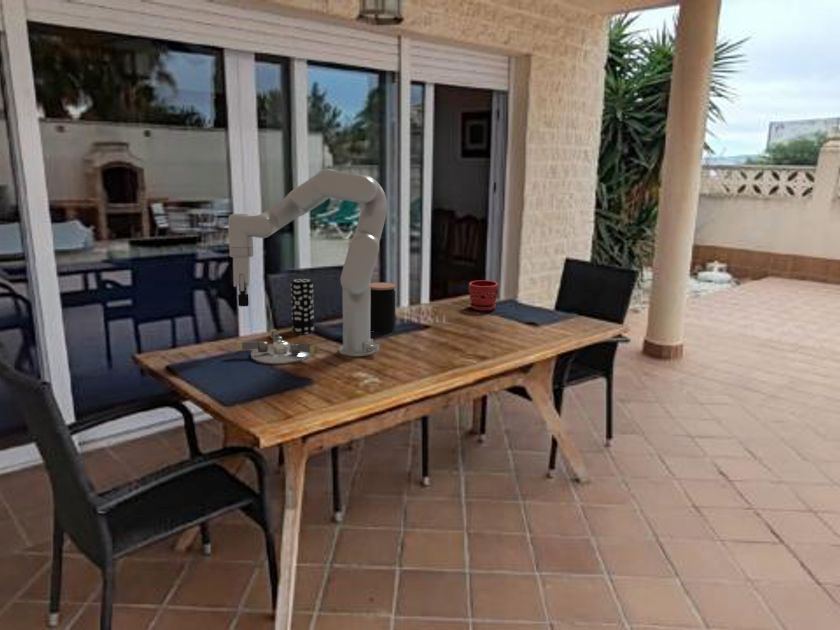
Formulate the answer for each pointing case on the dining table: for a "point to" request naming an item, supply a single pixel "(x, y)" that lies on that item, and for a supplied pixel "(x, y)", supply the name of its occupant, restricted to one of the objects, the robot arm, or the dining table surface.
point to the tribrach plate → (279, 354)
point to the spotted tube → (302, 306)
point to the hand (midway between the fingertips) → (243, 305)
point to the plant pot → (483, 294)
